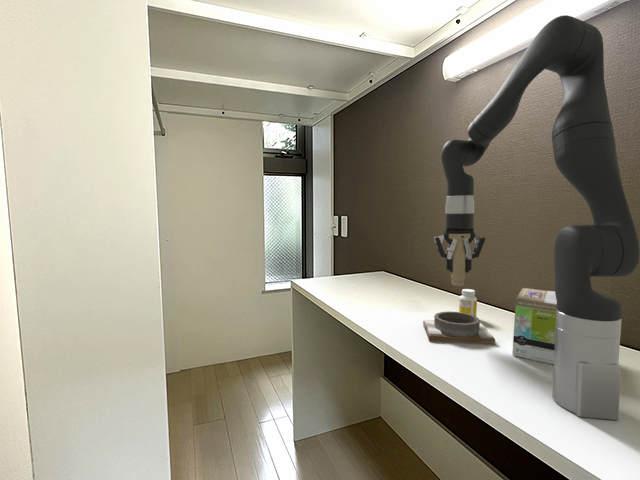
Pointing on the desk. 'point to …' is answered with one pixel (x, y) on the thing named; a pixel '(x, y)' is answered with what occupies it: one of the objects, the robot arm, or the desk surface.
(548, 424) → the desk surface
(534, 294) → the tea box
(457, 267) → the handle
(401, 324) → the desk surface
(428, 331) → the ring socket base
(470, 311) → the supplement bottle
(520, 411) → the desk surface
